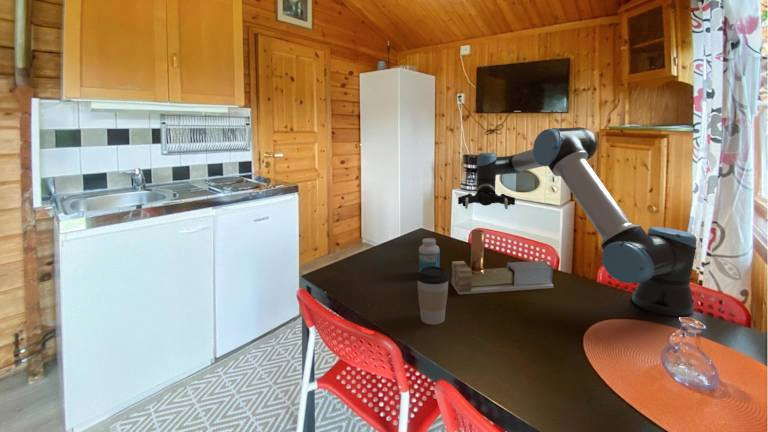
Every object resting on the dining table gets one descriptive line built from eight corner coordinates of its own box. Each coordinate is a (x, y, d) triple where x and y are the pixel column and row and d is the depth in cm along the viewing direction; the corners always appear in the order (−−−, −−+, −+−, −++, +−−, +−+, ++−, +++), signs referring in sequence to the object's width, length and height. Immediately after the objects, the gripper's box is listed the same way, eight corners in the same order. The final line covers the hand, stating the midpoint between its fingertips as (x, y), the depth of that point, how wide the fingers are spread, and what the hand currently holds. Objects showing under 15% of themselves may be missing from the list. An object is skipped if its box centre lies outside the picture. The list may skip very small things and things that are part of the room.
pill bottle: (428, 270, 154) (428, 235, 151) (443, 275, 148) (444, 239, 145) (414, 275, 149) (414, 239, 146) (429, 281, 144) (429, 244, 141)
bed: (553, 287, 136) (553, 285, 135) (459, 294, 133) (459, 291, 132) (540, 277, 144) (540, 274, 144) (451, 283, 141) (451, 280, 141)
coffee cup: (412, 323, 115) (412, 273, 111) (421, 309, 123) (421, 262, 119) (444, 328, 112) (445, 277, 108) (451, 313, 120) (452, 265, 116)
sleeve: (551, 286, 137) (553, 267, 135) (514, 289, 136) (515, 269, 134) (542, 278, 143) (543, 260, 142) (506, 281, 142) (507, 262, 140)
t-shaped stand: (519, 283, 136) (522, 231, 132) (460, 287, 134) (462, 234, 130) (513, 277, 141) (516, 227, 137) (456, 281, 139) (457, 230, 135)
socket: (471, 291, 133) (471, 270, 131) (459, 292, 132) (459, 271, 131) (463, 280, 141) (463, 260, 140) (451, 281, 141) (452, 261, 139)
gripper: (518, 204, 161) (523, 216, 141) (454, 203, 167) (450, 214, 147) (519, 185, 160) (524, 194, 139) (454, 185, 165) (450, 194, 145)
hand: (486, 205), depth 143 cm, fingers open, 13 cm apart
